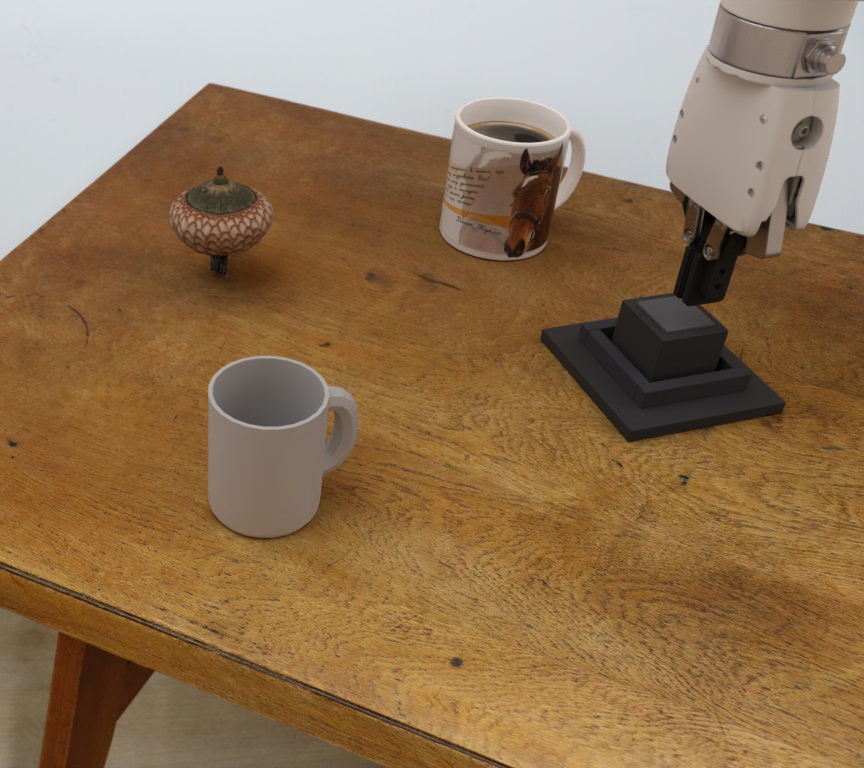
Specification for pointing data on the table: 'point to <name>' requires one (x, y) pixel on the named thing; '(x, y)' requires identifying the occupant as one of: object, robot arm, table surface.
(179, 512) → the table surface
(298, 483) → the cup
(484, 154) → the mug
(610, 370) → the base pad
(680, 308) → the small cube
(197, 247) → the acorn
